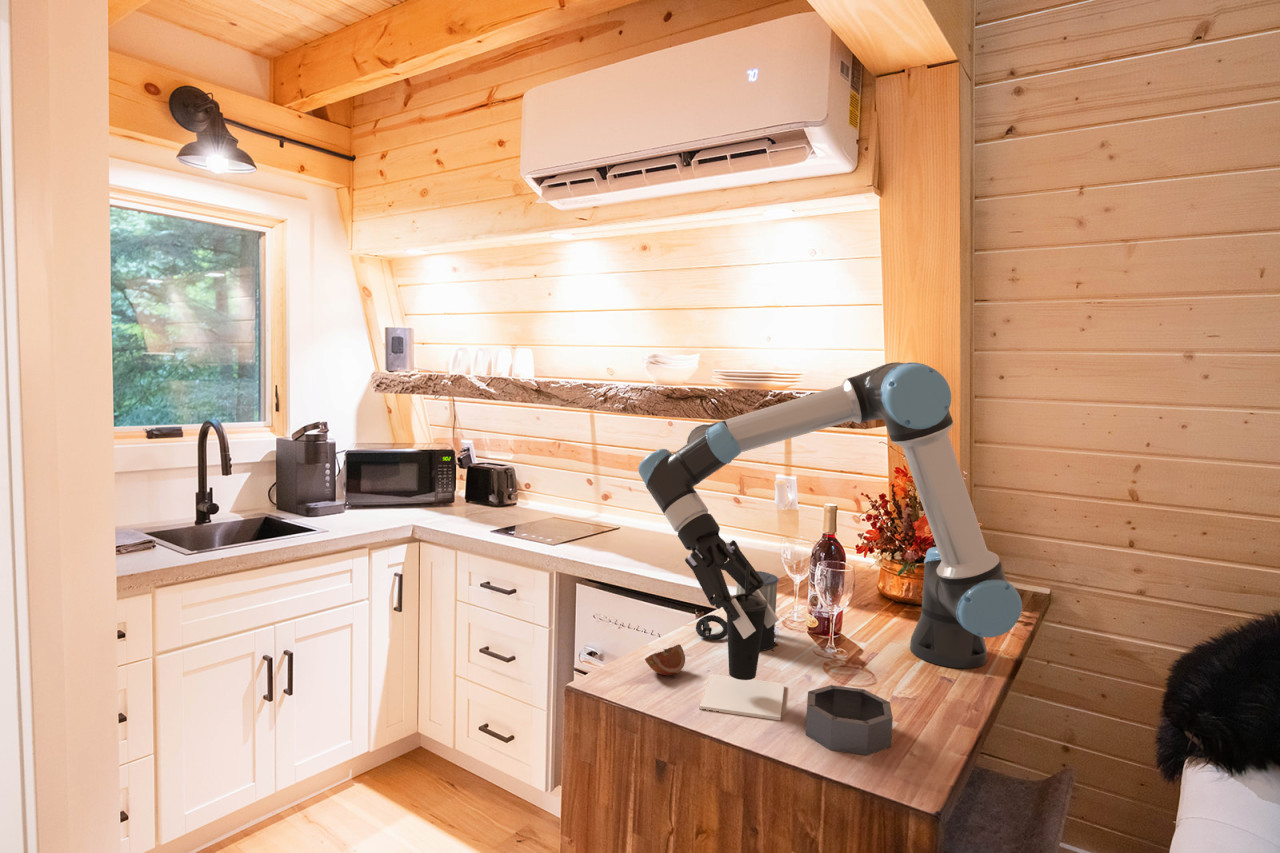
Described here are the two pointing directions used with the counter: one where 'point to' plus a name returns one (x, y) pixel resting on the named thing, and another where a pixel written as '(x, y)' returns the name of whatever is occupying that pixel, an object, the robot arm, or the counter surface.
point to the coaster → (743, 697)
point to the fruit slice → (667, 660)
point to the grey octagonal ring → (849, 720)
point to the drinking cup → (747, 650)
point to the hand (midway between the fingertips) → (761, 629)
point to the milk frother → (768, 633)
